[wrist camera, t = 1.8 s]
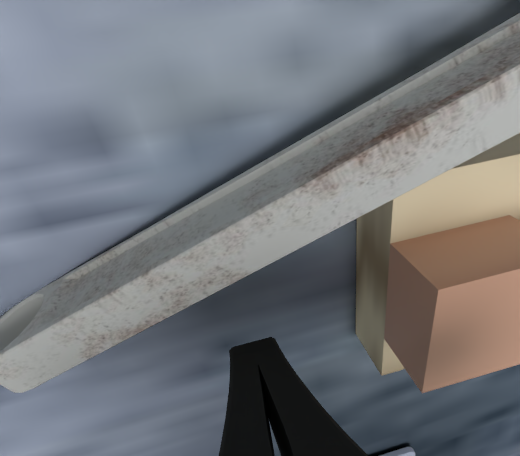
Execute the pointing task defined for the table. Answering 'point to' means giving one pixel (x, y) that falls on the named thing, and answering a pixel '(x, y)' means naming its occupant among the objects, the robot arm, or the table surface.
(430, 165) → the wrench
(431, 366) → the tile
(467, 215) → the board
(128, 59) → the table surface
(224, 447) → the robot arm
